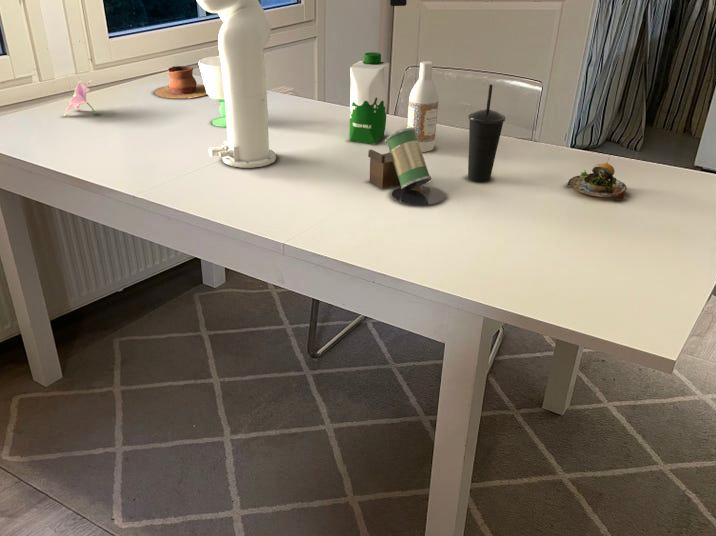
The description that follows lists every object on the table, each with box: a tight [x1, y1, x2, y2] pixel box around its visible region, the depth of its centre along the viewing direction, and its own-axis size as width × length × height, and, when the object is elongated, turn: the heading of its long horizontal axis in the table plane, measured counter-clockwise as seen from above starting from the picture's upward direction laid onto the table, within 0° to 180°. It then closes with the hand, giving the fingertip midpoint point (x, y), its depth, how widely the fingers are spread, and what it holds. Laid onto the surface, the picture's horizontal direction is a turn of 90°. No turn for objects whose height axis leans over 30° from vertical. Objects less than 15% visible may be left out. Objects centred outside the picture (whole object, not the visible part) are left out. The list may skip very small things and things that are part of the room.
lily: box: [63, 78, 98, 117], centre depth 199 cm, size 12×12×10 cm
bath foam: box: [406, 60, 439, 153], centre depth 170 cm, size 7×7×20 cm
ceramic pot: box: [154, 65, 208, 100], centre depth 220 cm, size 18×18×7 cm
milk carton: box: [349, 51, 390, 145], centre depth 176 cm, size 9×9×20 cm
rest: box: [368, 149, 401, 190], centre depth 154 cm, size 9×5×7 cm, turn 121°
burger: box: [567, 156, 628, 202], centre depth 149 cm, size 12×12×8 cm
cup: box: [198, 55, 227, 128], centre depth 190 cm, size 14×14×16 cm
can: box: [384, 127, 432, 191], centre depth 148 cm, size 7×12×13 cm, turn 31°
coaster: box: [391, 185, 445, 207], centre depth 149 cm, size 11×11×1 cm
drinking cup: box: [467, 84, 506, 184], centre depth 152 cm, size 8×8×20 cm
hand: (395, 2), depth 146 cm, fingers open, 9 cm apart
